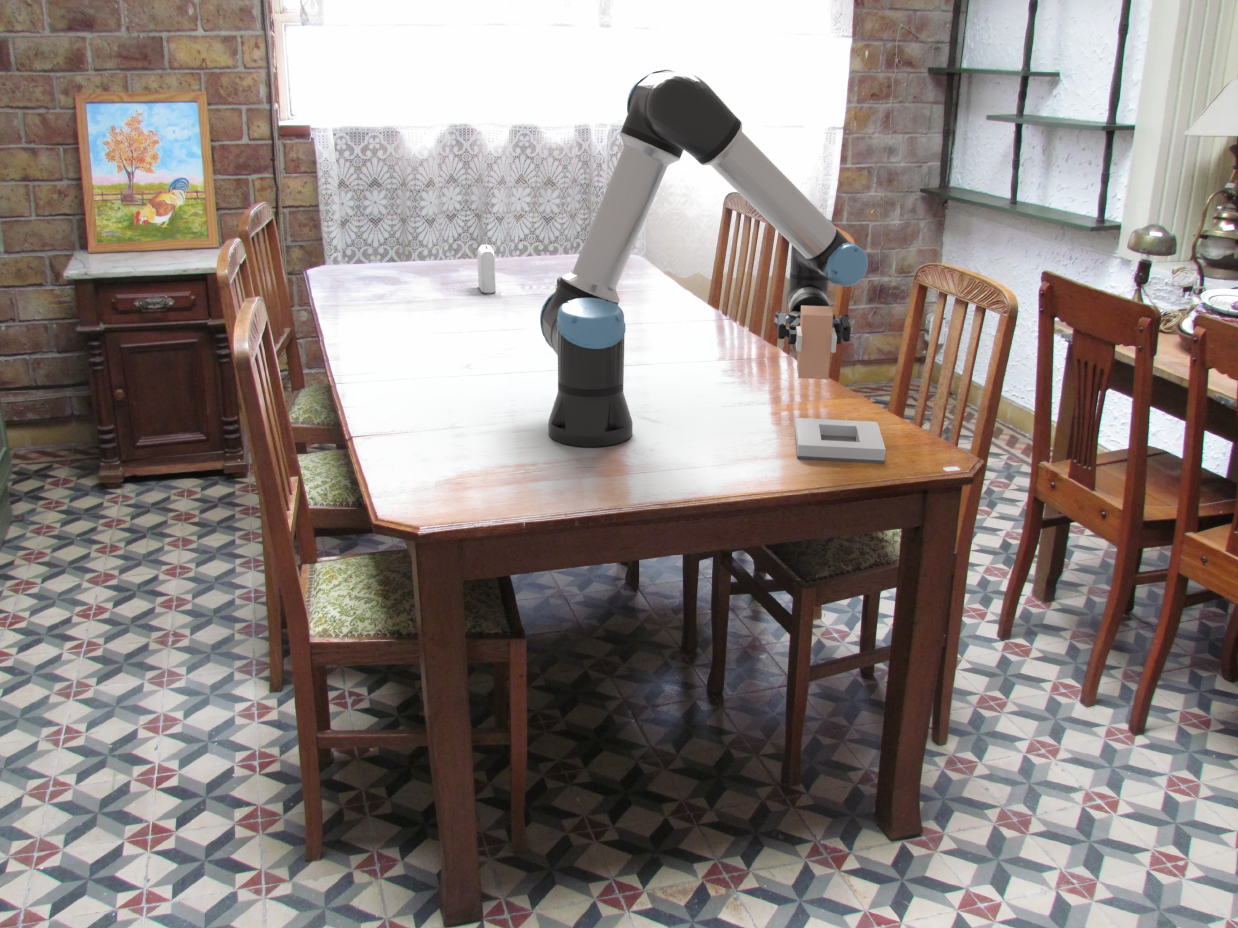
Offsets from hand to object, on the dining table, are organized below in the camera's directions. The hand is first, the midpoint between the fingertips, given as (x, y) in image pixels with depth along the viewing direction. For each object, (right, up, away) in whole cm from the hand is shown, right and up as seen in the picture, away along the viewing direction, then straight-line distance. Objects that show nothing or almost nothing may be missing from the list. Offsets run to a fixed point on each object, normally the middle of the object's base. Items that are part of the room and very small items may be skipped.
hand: (816, 344), depth 190 cm
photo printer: (-70, +28, +127) cm, 147 cm away
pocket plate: (+6, -17, +11) cm, 21 cm away
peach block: (0, -4, +7) cm, 8 cm away
